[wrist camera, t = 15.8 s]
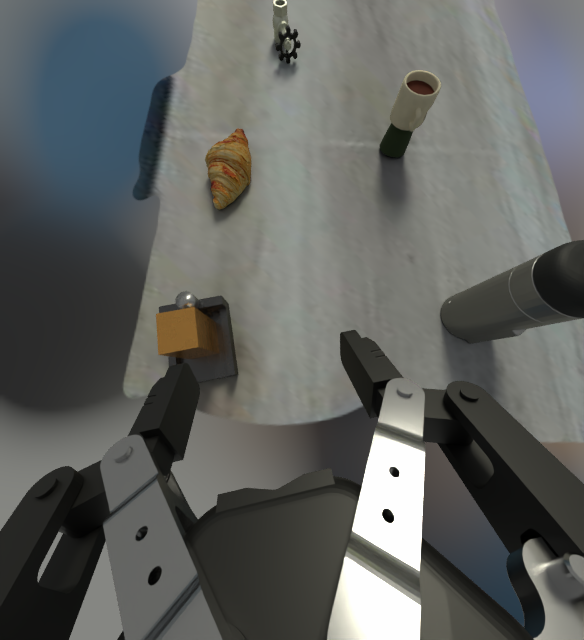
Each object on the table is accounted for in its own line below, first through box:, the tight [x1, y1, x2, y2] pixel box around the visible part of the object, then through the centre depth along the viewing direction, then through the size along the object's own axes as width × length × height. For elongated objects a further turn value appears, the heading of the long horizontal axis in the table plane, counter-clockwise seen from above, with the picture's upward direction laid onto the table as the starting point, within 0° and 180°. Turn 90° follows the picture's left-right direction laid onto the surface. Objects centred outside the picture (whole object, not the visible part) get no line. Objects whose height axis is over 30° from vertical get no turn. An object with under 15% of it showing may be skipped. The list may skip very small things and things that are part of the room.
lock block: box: [156, 307, 220, 359], centre depth 36 cm, size 6×6×10 cm
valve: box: [273, 0, 301, 64], centre depth 59 cm, size 7×7×12 cm
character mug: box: [380, 70, 441, 157], centre depth 48 cm, size 11×7×13 cm, turn 179°
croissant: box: [205, 129, 251, 210], centre depth 49 cm, size 21×10×8 cm, turn 170°
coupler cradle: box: [159, 291, 238, 382], centre depth 39 cm, size 15×11×7 cm
